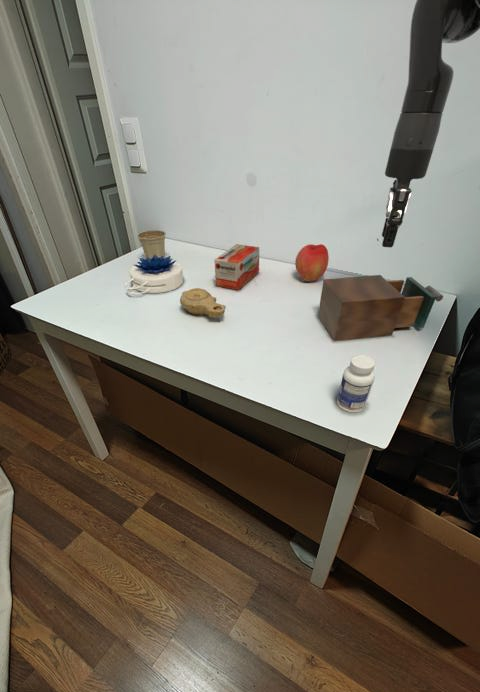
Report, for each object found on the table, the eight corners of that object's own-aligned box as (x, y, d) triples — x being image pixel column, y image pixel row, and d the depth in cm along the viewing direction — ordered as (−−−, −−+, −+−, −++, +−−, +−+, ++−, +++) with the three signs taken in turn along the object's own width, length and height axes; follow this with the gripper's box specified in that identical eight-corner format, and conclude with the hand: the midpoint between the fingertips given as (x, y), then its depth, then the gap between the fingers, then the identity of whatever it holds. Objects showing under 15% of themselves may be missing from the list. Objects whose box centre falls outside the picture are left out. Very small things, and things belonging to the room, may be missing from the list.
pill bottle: (343, 391, 68) (354, 349, 61) (369, 401, 66) (383, 359, 59) (331, 406, 65) (341, 363, 58) (358, 417, 63) (372, 374, 56)
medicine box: (237, 268, 113) (236, 242, 107) (259, 272, 110) (260, 246, 105) (215, 286, 103) (213, 259, 98) (239, 291, 101) (238, 263, 95)
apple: (323, 274, 109) (329, 240, 102) (326, 286, 102) (332, 251, 95) (293, 273, 110) (296, 239, 103) (293, 285, 103) (297, 250, 96)
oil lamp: (222, 326, 87) (221, 307, 83) (171, 318, 90) (168, 300, 86) (235, 307, 94) (235, 289, 90) (187, 301, 97) (185, 283, 93)
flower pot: (148, 255, 123) (143, 229, 116) (173, 257, 121) (169, 230, 115) (138, 265, 116) (132, 238, 110) (164, 267, 115) (159, 239, 109)
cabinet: (370, 311, 91) (380, 274, 84) (391, 335, 83) (405, 297, 76) (317, 315, 90) (323, 279, 83) (334, 341, 81) (342, 302, 74)
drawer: (416, 305, 91) (427, 275, 86) (440, 326, 84) (453, 295, 78) (352, 310, 90) (360, 281, 84) (371, 333, 82) (380, 301, 76)
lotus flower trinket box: (152, 247, 109) (104, 268, 97) (191, 256, 103) (144, 279, 91) (156, 269, 114) (111, 291, 102) (193, 279, 108) (149, 304, 96)
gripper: (438, 148, 58) (406, 252, 69) (429, 144, 68) (403, 235, 79) (392, 147, 59) (368, 249, 70) (390, 143, 70) (369, 232, 80)
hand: (386, 241), depth 75 cm, fingers open, 8 cm apart
